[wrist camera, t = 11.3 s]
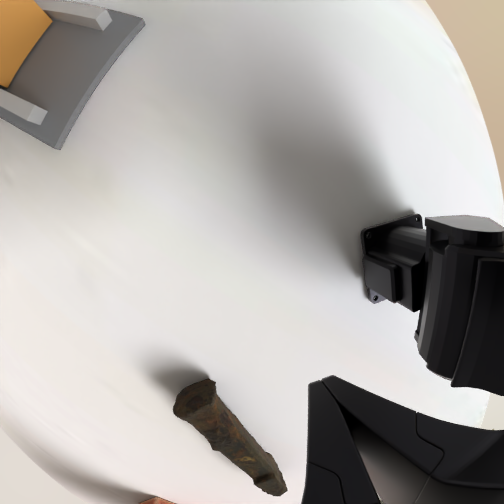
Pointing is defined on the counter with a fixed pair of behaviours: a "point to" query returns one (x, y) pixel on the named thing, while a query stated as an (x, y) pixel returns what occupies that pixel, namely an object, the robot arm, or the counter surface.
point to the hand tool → (228, 435)
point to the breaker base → (65, 68)
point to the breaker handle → (18, 34)
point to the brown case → (156, 501)
